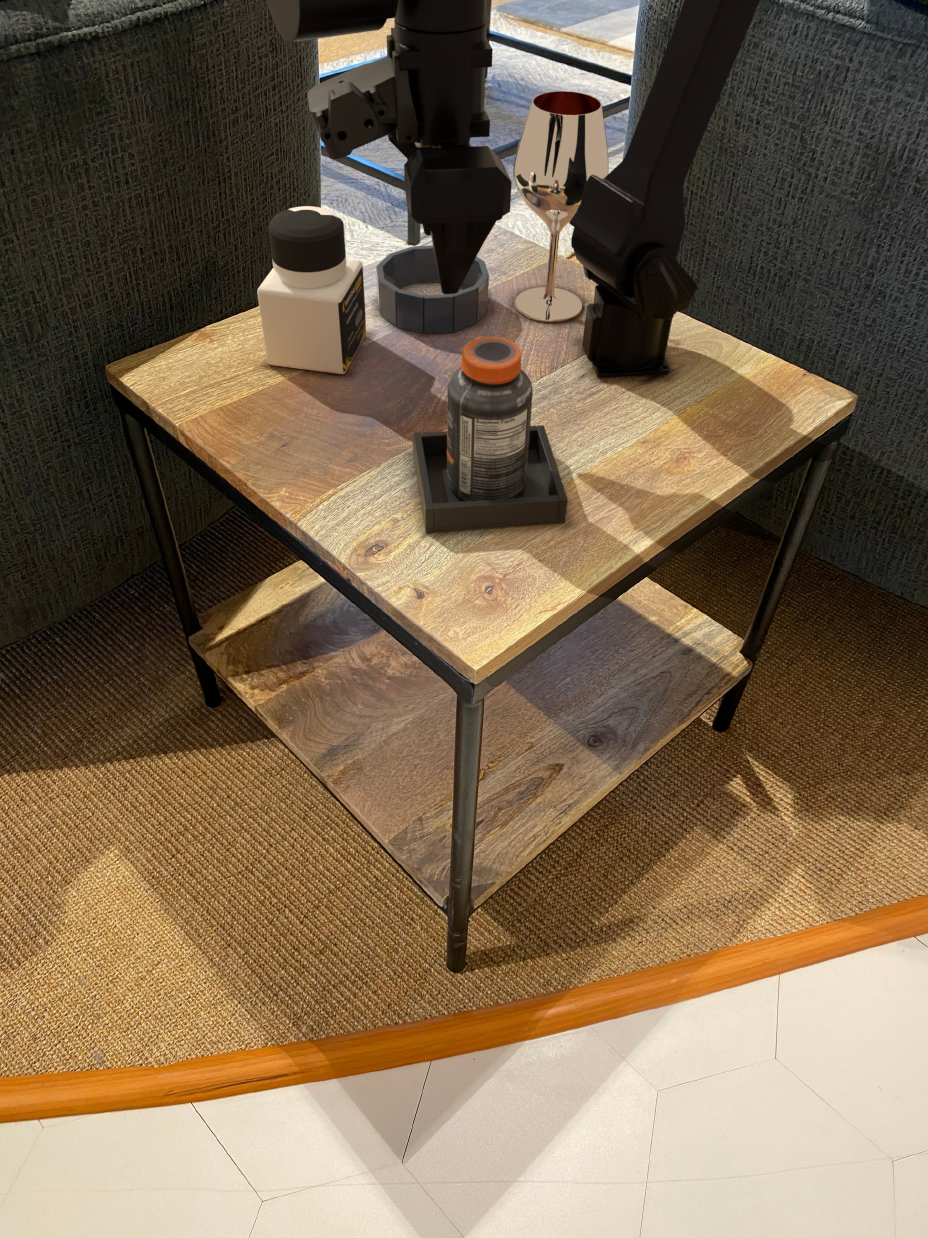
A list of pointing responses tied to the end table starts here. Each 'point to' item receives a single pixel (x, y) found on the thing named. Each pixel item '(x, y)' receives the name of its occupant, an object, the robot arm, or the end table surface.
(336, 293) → the medicine bottle
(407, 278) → the bowl
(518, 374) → the pill bottle
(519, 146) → the wineglass
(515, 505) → the tray
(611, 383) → the end table surface
